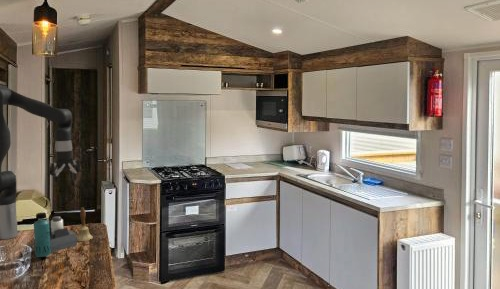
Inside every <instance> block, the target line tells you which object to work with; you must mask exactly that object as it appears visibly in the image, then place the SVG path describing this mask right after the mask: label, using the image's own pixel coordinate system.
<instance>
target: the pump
mask: <svg viewBox="0 0 500 289" xmlns="http://www.w3.org/2000/svg"><path fill="white" fill-rule="evenodd" d="M50 227H51V235H52V236H53V237H54V231H55V230H59V229H63V228H64V219H63V218H62V217H61V216H58V215H57V216H53V217H52V218H51V220H50Z"/></svg>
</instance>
